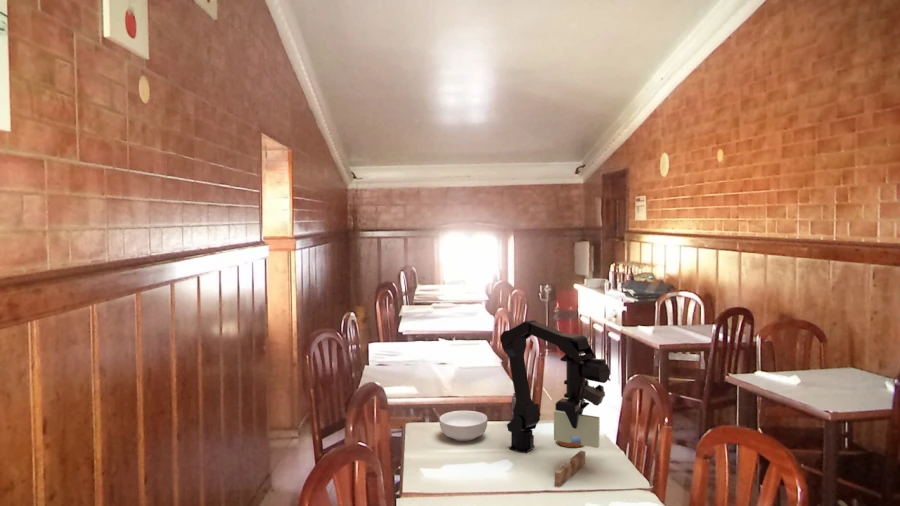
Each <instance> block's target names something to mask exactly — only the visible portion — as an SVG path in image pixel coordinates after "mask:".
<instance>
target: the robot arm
mask: <svg viewBox="0 0 900 506" xmlns="http://www.w3.org/2000/svg"><path fill="white" fill-rule="evenodd" d="M531 336H533V337H535V338H538V339H540V340H543V341H544V342H548V343H549V344H551V345H554V346H556V347H558V349H559V350H560V351H561V352H562V353H563V354H564V355H563V356H562V357H560V361H562V362H565V363H566V364H565V365H566V366H565V367H566V370H565V371H566V372H565V373H566V374H565V375H566V379H564V381H563V385H566V387H565V388H566V390H565V391H566V392H565V393H563V397H564V398H563V397H562V398H561V399H559V400H558V401H556V403H554V404H555V410H554V411H556V410H557V411H563V412H565V413H566V415H567V417H568V419H569V421H570V423H571V425H572V427H573V428H575V429H576V428H577V423H578V416H579V414H583V413H584V410H585V408H586V407H588V406H589V405H590V403H591V404H592V405H594V406H597V407H598V406H599V405H600V404H602V403H603V400H604V397H606V391H605V389H604V385H601V384H605V383H607V382H608V381H609V377H610V374H611V369H610V367H609V365H608V364H607V360H606V359H605V358H597V355H596V354H595V352H594V351H593V349H592V347H591V345H590V343H589V341H588V338H587V337H586V336H585V335H583V334H577V333H568V332H563V331H561V330H558V329H556V328H553V327H550V326H548V325H546V324H543V323H541V322H538V321H537V320H534V319H530V320H525V321H523V322H521V323H520V324H518V325H516V326H514V327H513V328H511V329H508V330H504V331H503V332H502V333H501V335H500V344H501V347H502V350H503V352H504V353H505V355H506V356H507V357H508V360H509V366H510V373H511V377H512V378H511V379H512V384H513V390H514V393H515V397H516V403H515V406H514V409H513V419H512V418H511V419H510V421H509V422H508V423H507V424H506V428H507V431H508V432H510V434H511V435H510V436H511V437H510V439H511V440H510V441H511V443H510V444H511V445H509V447H508V449H509V450H513V451H517V452H521V453H522V452H523V453H528V452H530V451H531V450H532V449H534V448H535V444H534V443H535V442H534V441H535V440H534V439H535V438H534V437H535V436H534V435H533V430H536V427H537V424H538V423H539V422H540V417H541V413H540V405H539V403H538V402H536V403H535V402H534V401H533V399H532V397H531V392H530V386H529V379H528V373H527V369H526V368H527V367H526V363H525V352H526V348H527V340H528V339H529V338H531ZM560 351H559V352H560ZM589 381H592V382H596V383H601V384H598V385H596V386H591V385H589Z"/></svg>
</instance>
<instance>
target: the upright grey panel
mask: <svg viewBox="0 0 900 506" xmlns="http://www.w3.org/2000/svg"><path fill="white" fill-rule="evenodd" d="M600 420H601V419H600V416H594V415H587V414H583V413H582V414H579V416H578V423H577V428H576V429H575V428H573V427H572V425H571V423H570V421H569V419H568V417H567V415H566V413H565V412H563V411H557V410H554V411H553V441H556V442H557V441H561V442H567V443H571V442H572V436H574V437H580V438H581V445H582V446H585V447H590V448H595V449H599V447H600Z"/></svg>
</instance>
